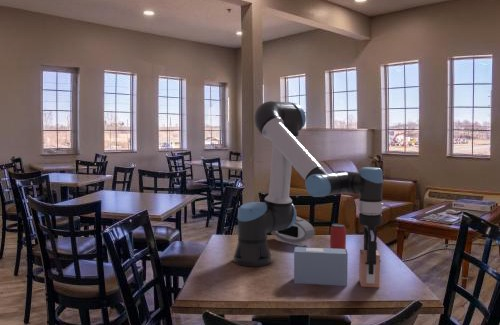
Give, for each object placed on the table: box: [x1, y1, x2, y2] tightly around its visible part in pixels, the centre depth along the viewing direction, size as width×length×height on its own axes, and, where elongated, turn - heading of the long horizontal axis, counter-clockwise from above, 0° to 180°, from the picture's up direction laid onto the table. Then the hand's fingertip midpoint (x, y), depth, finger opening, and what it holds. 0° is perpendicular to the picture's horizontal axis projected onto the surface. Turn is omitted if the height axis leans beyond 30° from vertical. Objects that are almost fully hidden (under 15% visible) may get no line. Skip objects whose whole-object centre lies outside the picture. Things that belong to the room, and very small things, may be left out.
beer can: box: [329, 223, 347, 250], centre depth 183 cm, size 7×7×12 cm
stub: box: [358, 249, 381, 288], centre depth 144 cm, size 6×6×11 cm
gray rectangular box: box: [293, 246, 349, 287], centre depth 147 cm, size 18×6×12 cm, turn 81°
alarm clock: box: [271, 215, 316, 247], centre depth 199 cm, size 23×6×13 cm, turn 43°
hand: (369, 279), depth 144 cm, fingers closed on stub, 6 cm apart
